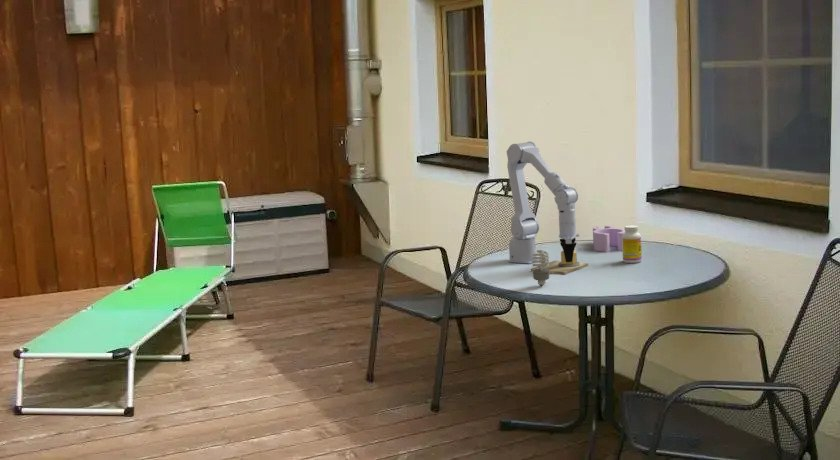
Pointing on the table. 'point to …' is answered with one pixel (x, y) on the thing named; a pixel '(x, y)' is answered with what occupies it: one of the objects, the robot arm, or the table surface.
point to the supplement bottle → (631, 245)
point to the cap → (568, 262)
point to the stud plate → (562, 267)
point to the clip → (607, 238)
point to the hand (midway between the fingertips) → (568, 260)
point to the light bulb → (541, 273)
